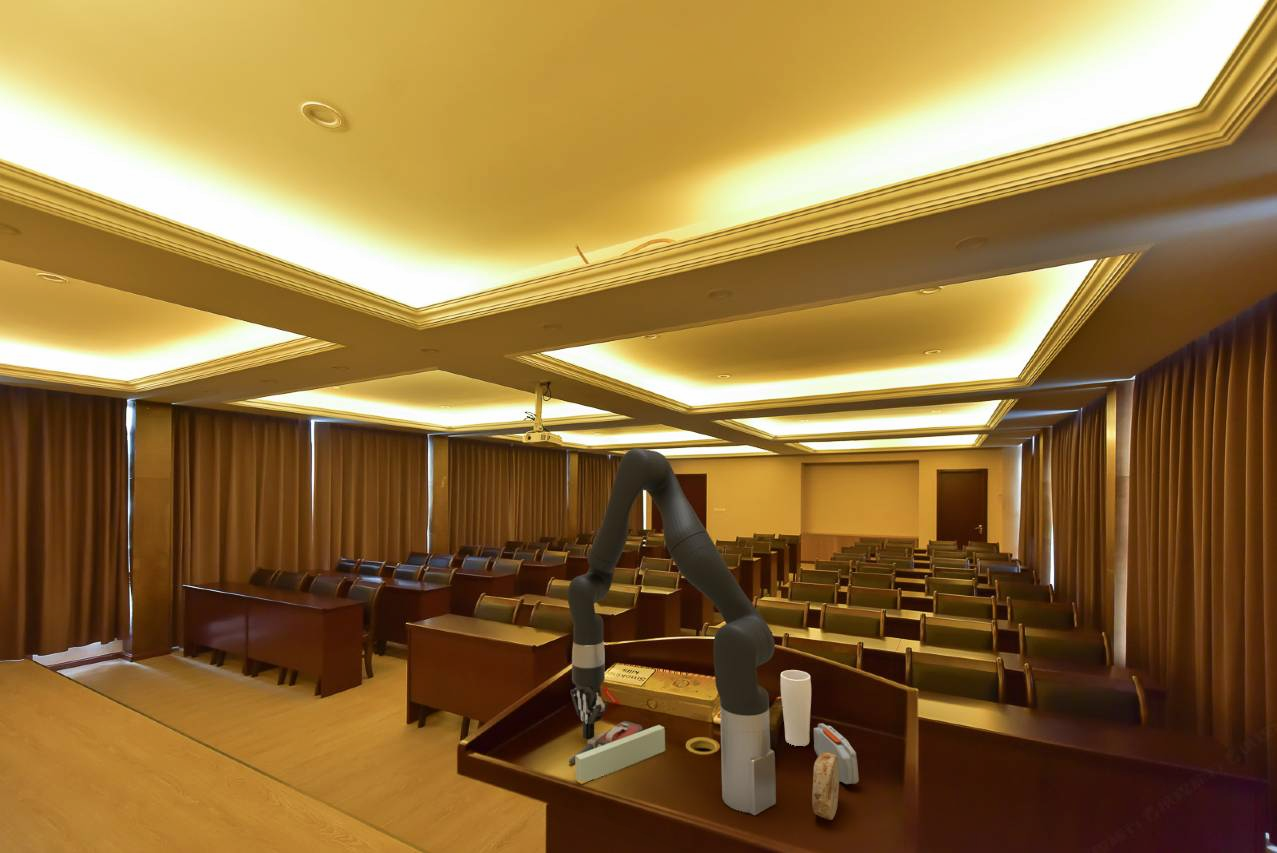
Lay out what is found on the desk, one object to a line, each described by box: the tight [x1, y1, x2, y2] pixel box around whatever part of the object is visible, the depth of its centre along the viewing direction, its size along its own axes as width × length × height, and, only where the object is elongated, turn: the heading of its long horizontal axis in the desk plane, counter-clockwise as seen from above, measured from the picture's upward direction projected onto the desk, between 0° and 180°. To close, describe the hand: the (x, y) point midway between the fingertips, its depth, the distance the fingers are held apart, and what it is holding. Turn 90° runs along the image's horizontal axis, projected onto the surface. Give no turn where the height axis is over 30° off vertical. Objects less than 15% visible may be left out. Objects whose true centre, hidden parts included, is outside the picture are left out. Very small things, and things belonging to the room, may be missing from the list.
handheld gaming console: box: [813, 722, 860, 785], centre depth 119 cm, size 14×3×8 cm, turn 11°
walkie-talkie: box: [568, 720, 643, 765], centre depth 130 cm, size 9×4×20 cm
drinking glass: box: [780, 669, 812, 747], centre depth 133 cm, size 7×7×15 cm
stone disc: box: [811, 752, 840, 821], centre depth 106 cm, size 10×4×10 cm, turn 150°
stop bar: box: [574, 724, 666, 782], centre depth 123 cm, size 2×22×5 cm, turn 128°
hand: (588, 737), depth 134 cm, fingers closed
